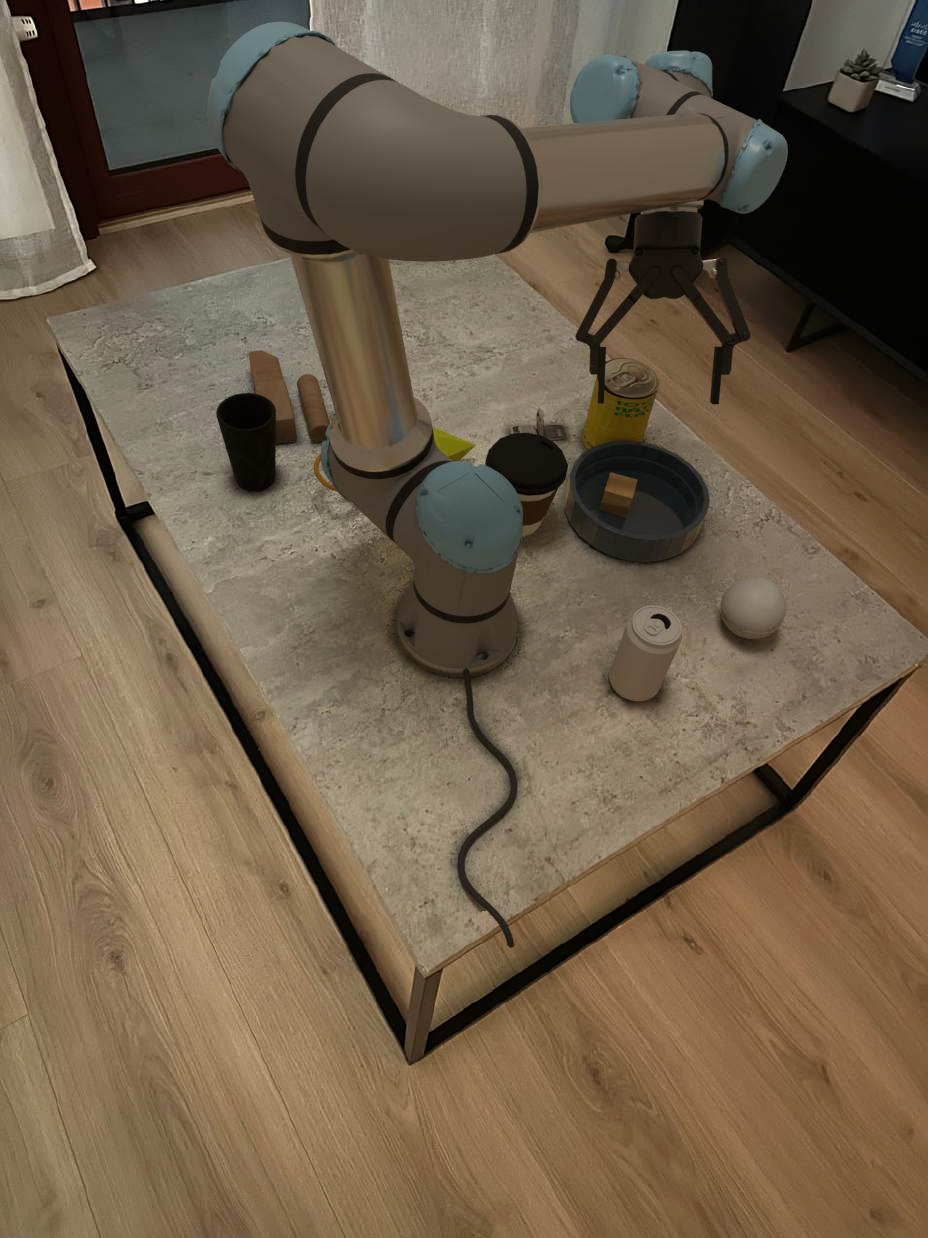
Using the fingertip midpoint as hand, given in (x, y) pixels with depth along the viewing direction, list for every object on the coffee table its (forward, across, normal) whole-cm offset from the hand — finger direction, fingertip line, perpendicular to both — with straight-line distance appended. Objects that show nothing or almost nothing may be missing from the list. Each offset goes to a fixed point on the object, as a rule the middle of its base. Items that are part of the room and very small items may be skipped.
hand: (657, 403), depth 110 cm
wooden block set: (+3, +50, -22) cm, 55 cm away
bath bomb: (+29, -13, 0) cm, 32 cm away
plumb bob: (+13, +35, -11) cm, 39 cm away
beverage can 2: (+33, +2, +11) cm, 35 cm away
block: (+16, +4, -14) cm, 22 cm away
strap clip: (+8, +16, -25) cm, 31 cm away
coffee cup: (+18, +18, -9) cm, 27 cm away
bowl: (+17, +2, -14) cm, 22 cm away
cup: (+12, +55, -7) cm, 56 cm away
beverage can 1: (+9, +5, -27) cm, 29 cm away
